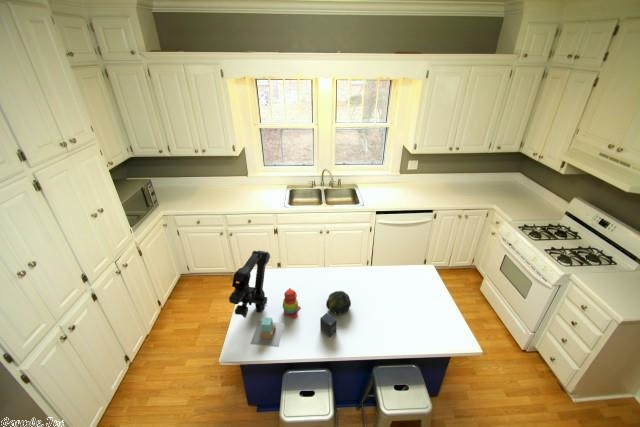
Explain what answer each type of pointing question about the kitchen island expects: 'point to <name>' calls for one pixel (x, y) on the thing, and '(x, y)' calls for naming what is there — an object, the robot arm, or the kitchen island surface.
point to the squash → (338, 302)
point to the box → (328, 325)
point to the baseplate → (265, 341)
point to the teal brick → (267, 324)
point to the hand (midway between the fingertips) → (247, 311)
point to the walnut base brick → (268, 333)
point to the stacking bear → (291, 304)
